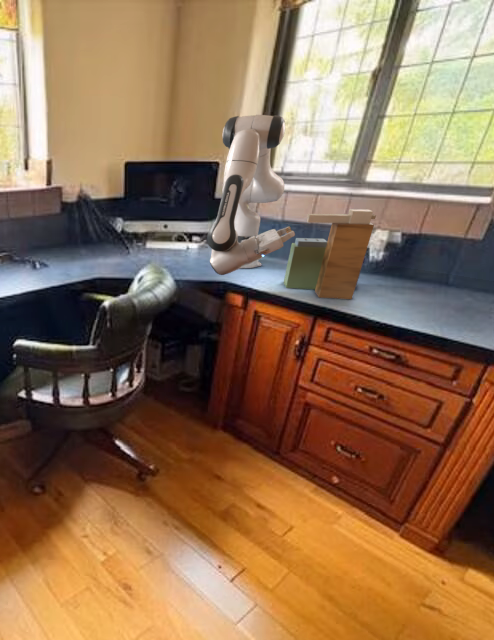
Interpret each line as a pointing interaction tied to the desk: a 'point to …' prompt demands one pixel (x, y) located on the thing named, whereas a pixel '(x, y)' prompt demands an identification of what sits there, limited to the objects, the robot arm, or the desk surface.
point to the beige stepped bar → (343, 217)
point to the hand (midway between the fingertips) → (292, 230)
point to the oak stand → (343, 260)
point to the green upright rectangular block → (304, 263)
